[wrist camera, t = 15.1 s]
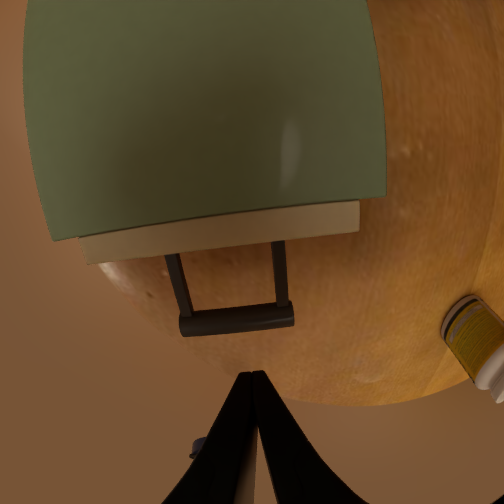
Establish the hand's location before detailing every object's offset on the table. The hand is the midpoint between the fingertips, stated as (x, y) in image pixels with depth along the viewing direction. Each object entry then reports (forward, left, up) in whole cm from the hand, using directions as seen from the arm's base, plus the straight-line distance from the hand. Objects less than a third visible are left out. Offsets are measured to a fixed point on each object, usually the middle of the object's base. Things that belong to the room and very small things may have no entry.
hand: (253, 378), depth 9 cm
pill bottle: (+13, -21, -12) cm, 27 cm away
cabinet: (+6, +13, -12) cm, 18 cm away
